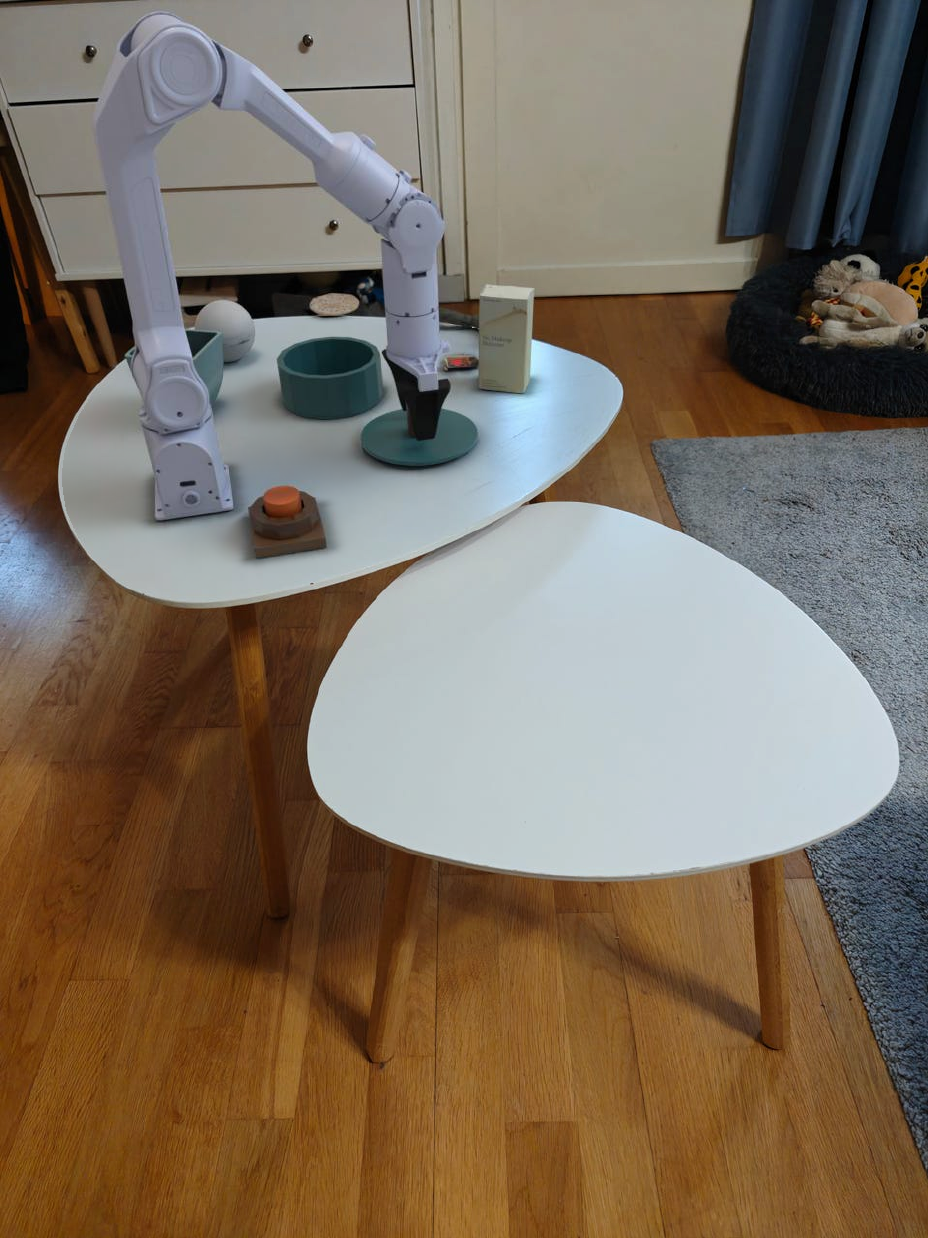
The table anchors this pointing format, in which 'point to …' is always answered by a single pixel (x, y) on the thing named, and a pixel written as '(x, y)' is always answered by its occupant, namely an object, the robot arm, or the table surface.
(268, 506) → the button
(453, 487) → the table surface
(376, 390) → the tin
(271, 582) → the table surface
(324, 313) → the flatbread
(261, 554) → the button block
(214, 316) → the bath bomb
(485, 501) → the table surface
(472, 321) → the toy
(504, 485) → the table surface
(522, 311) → the cosmetic box
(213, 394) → the flower pot
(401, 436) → the tin lid
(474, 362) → the matchbox
